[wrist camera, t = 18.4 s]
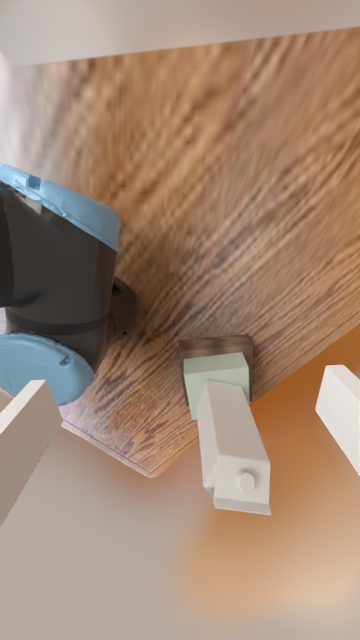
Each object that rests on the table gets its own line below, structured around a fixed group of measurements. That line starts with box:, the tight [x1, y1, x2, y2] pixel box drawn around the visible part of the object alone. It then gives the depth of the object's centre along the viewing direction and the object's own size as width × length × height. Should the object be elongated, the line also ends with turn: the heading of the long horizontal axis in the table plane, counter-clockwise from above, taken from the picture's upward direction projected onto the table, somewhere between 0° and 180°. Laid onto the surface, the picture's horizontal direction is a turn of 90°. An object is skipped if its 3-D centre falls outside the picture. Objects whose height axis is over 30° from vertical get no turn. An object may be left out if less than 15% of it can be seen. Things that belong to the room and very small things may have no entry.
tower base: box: [179, 335, 253, 406], centre depth 51 cm, size 15×15×5 cm
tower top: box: [184, 352, 250, 420], centre depth 46 cm, size 12×12×5 cm
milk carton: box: [197, 380, 271, 515], centre depth 35 cm, size 7×7×19 cm
